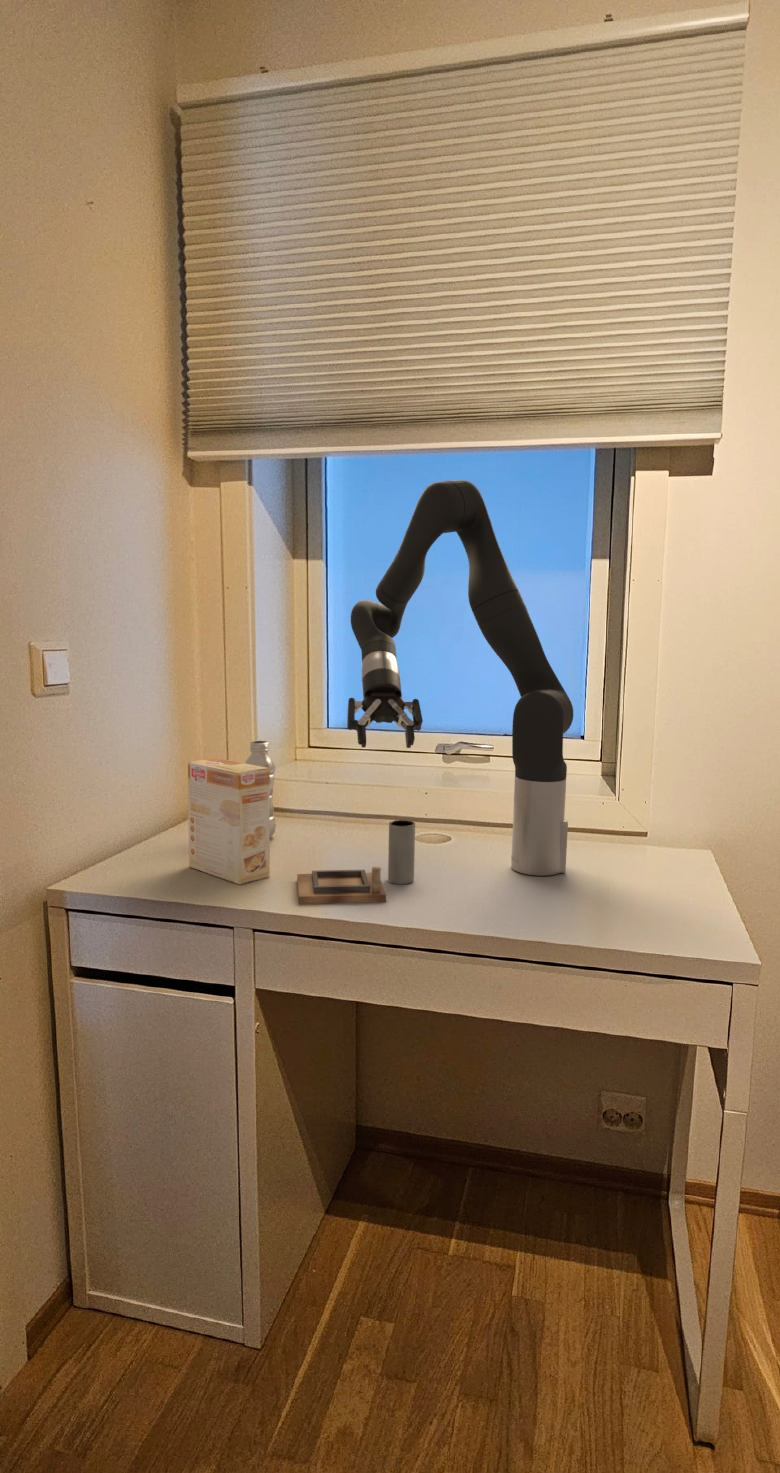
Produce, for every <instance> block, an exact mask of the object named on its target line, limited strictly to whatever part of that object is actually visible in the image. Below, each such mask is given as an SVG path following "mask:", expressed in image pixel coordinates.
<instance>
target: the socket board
mask: <svg viewBox="0 0 780 1473" xmlns="http://www.w3.org/2000/svg"><path fill="white" fill-rule="evenodd" d="M381 870H382V868H381V867H380V866H372V868H371V872H366V870H365V869H335V870H334V869H333V870H332V869H331V870H328V869H327V870H325V869H324V870H323V869H322V870H311V873H297V875H296V876H297V878H296V883H297V895H298V896H297V897H298V905H306V904H307V905H308V904H309V903H311V904H312V903H315V904H348V903H349V904H350V903H351V904H352V903H355V902H357V903H383V902H384V903H386V902H387V893H386V891H385V888H384V885H383V882H382V881H381V880H382V879H381V876H382V875H381V874H382V873H381V872H382V871H381ZM311 904H310V905H311Z"/></svg>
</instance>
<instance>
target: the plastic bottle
mask: <svg viewBox="0 0 780 1473" xmlns="http://www.w3.org/2000/svg"><path fill="white" fill-rule="evenodd" d="M269 744H270V742H269V741H267V740H254V741H253V740H252V741H250V748H249V752H251V753H250V755H249V756H248V757H247V759H245V762H244V763H245V764H250V765H255V766H261V767H266V768H270V838H271V837H273V836H274V834H275V832H276V829H277V828H276V827H277V824H276V816H275V812H274V802H273V798H274V795H273V793H274V782H275V776H276V765H275V763H274V761H273V758H272V757H271V756H270V755H269V752H270V748H269Z"/></svg>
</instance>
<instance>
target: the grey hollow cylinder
mask: <svg viewBox="0 0 780 1473" xmlns="http://www.w3.org/2000/svg"><path fill="white" fill-rule="evenodd" d="M415 845H416V822H414V821H411V820H408V819H407V820H405V819H397V820H396V819H395V820H391V821H390V822H389V823H388V857H387V858H388V861H387V862H388V864H387V865H388V866H387V867H388V868H387V880H388V882H389V883H392V884H395V885H408V884H412V883H413V882H414V880H415V857H416V856H415V854H416V852H415V851H416V850H415V849H416V847H415Z"/></svg>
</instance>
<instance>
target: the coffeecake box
mask: <svg viewBox="0 0 780 1473" xmlns="http://www.w3.org/2000/svg"><path fill="white" fill-rule="evenodd" d="M187 787H188V789H187V792H188V793H187V794H188V797H187V798H188V799H187V800H188V801H187V804H188V867H189V868H192V869H194V870H197V871H201V872H203V873H206V874H209V875H211V876H215V877H217V878H220V879H222V880H226V881H227V882H231V883H235V884H237V885H243V884H247V883H250V882H254V881H258V880H263V879H267V878H270V877H271V875H270V874H271V872H270V871H271V870H270V868H271V867H270V866H271V865H270V863H271V862H270V861H271V860H270V858H271V857H270V852H271V851H270V850H271V849H270V848H271V847H270V846H271V844H270V843H271V842H270V838H271V837H270V768H266V767H261V766H255V765H250V764H245V762H241V761H240V762H238V761H235V760H234V761H233V760H228V759H223V758H218V757H216V758H214V757H213V758H207V759H200V760H192V761H188V762H187Z"/></svg>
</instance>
